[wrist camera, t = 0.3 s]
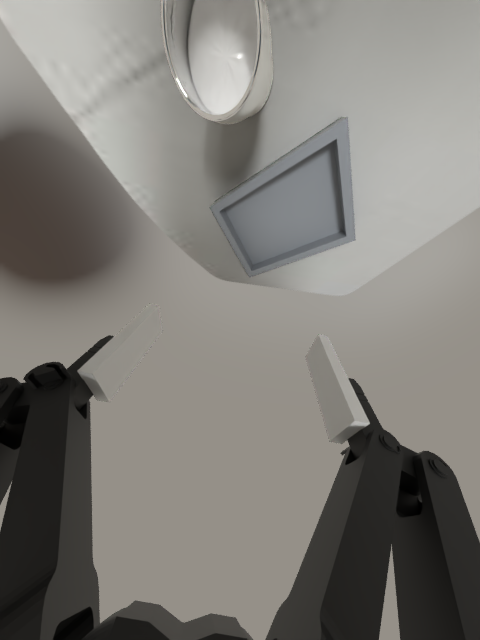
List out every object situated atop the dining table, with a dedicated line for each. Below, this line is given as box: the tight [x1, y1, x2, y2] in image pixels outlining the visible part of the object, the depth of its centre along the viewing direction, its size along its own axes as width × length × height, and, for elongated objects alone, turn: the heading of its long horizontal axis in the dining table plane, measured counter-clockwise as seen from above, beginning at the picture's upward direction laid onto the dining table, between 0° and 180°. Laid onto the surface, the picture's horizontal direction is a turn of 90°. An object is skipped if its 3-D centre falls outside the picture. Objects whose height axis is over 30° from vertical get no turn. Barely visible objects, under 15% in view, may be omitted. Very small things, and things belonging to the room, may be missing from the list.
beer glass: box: [161, 0, 273, 124], centre depth 15 cm, size 7×7×15 cm
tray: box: [210, 117, 355, 277], centre depth 29 cm, size 20×15×4 cm
